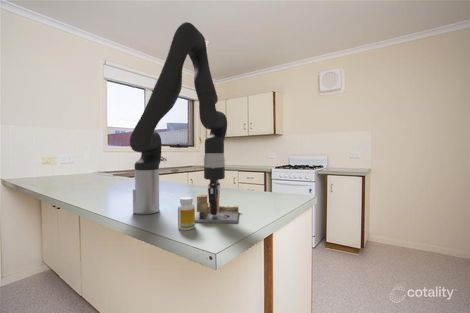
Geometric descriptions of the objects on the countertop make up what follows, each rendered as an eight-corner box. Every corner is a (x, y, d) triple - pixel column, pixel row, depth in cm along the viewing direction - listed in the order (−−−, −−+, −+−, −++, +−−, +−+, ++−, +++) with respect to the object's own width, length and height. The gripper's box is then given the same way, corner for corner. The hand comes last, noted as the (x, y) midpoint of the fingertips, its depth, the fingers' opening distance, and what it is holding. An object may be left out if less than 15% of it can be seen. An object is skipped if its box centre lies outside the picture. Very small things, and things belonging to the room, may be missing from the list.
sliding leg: (209, 216, 84) (209, 196, 84) (210, 213, 88) (210, 194, 87) (218, 216, 84) (218, 196, 84) (219, 213, 88) (219, 194, 87)
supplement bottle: (198, 227, 77) (198, 197, 76) (184, 231, 73) (184, 200, 72) (188, 223, 80) (188, 195, 80) (174, 227, 76) (174, 198, 76)
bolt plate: (194, 222, 82) (194, 219, 82) (200, 213, 93) (200, 210, 93) (237, 223, 81) (237, 220, 81) (238, 214, 92) (238, 211, 92)
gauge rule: (195, 219, 85) (195, 196, 84) (201, 211, 96) (201, 190, 95) (237, 220, 84) (237, 197, 83) (238, 212, 95) (238, 191, 94)
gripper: (207, 164, 92) (207, 207, 93) (200, 167, 78) (200, 218, 79) (226, 164, 92) (226, 207, 93) (222, 167, 78) (222, 218, 79)
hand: (214, 212), depth 86 cm, fingers closed on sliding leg, 3 cm apart
